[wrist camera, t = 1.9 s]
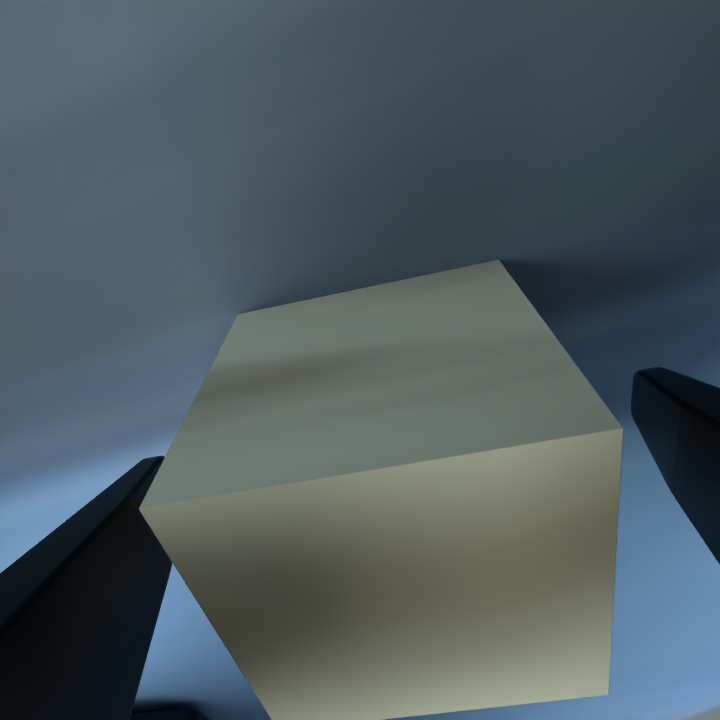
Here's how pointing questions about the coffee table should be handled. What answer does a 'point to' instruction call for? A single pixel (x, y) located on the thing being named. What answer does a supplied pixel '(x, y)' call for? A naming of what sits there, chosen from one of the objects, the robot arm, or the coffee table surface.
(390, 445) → the birch cube
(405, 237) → the coffee table surface
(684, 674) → the coffee table surface
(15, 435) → the coffee table surface
